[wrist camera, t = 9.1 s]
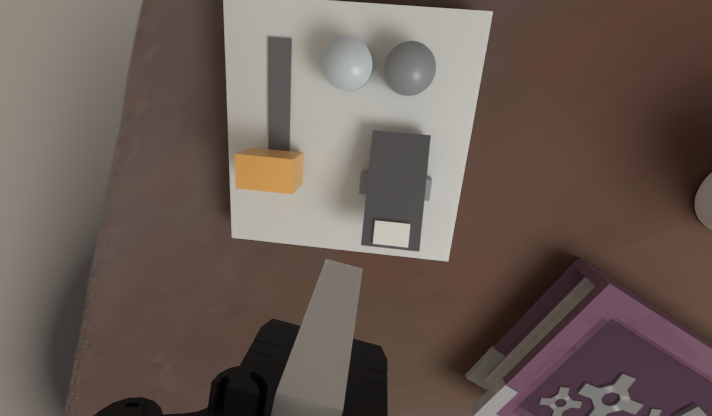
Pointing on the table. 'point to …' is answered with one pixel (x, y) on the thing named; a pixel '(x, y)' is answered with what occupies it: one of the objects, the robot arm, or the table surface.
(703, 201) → the mug
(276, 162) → the slider knob
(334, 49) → the button
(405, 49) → the button
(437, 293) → the table surface
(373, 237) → the dark grey slab
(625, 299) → the book
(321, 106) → the panel
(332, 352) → the robot arm
